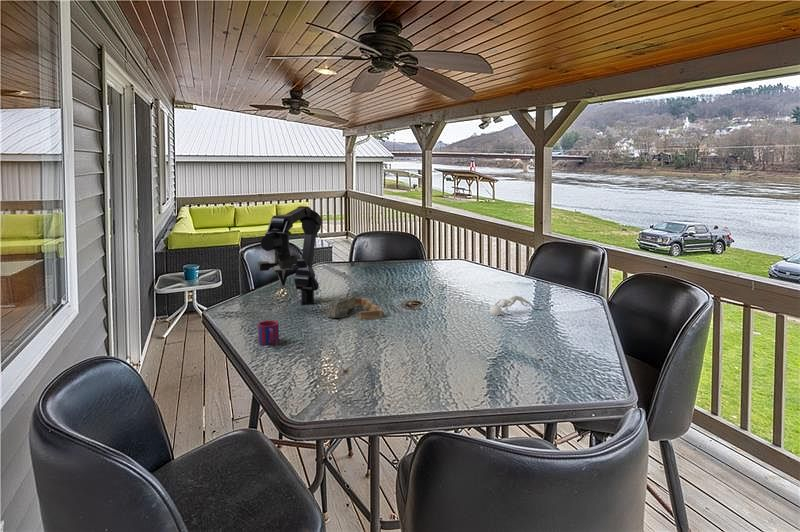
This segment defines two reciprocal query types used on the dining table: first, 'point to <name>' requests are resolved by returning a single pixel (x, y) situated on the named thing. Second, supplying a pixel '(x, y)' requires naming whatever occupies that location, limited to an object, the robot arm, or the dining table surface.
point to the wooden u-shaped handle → (373, 309)
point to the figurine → (503, 303)
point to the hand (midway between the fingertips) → (283, 285)
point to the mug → (268, 332)
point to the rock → (340, 307)
